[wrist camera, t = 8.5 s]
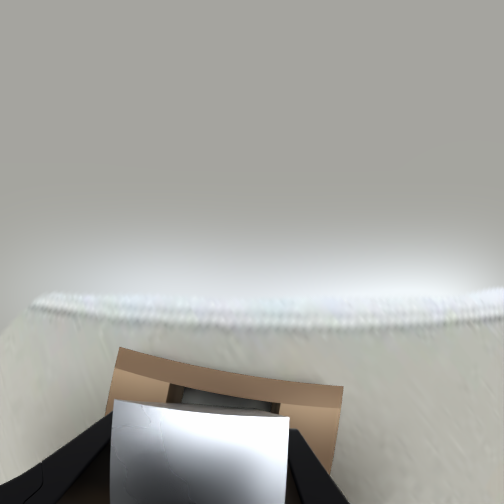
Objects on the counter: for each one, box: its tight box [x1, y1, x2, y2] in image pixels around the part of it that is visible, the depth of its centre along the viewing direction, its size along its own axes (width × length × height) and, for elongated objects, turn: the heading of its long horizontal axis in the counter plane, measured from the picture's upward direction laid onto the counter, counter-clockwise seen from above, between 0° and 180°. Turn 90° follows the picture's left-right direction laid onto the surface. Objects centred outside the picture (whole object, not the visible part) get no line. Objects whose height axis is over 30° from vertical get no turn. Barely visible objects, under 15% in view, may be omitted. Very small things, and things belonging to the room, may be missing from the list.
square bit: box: [110, 399, 289, 504], centre depth 10 cm, size 4×4×12 cm
